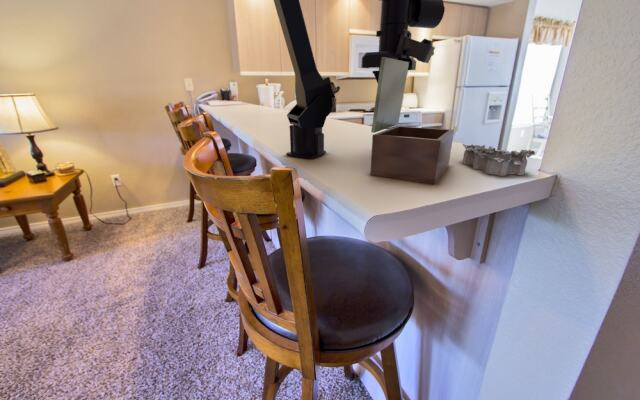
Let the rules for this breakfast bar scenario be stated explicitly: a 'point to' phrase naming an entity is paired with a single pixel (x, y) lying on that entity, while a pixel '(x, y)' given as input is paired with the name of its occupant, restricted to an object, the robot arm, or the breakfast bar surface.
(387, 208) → the breakfast bar surface
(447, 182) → the breakfast bar surface
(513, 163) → the egg carton
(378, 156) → the box
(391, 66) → the lid
